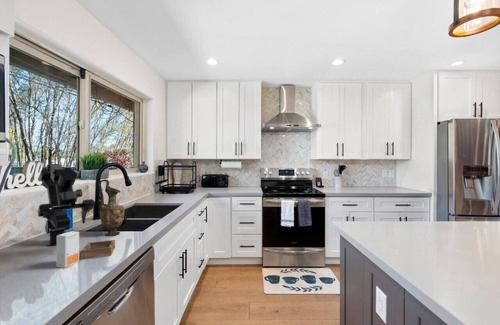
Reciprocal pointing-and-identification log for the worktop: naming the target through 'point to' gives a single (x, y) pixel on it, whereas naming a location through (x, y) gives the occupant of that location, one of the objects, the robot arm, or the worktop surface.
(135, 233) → the worktop surface
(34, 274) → the worktop surface
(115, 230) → the vase
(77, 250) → the skincare box
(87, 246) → the walnut holder
